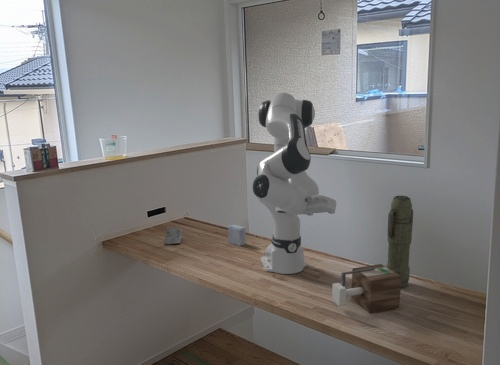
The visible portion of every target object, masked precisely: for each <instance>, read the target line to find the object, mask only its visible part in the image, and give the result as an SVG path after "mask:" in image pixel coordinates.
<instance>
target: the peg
mask: <svg viewBox="0 0 500 365" xmlns="http://www.w3.org/2000/svg"><path fill="white" fill-rule="evenodd" d="M372 270H375V269H374V268H370V269H364V270H357V271H351V270H350V271H345V272H341V273H340V276H341V278H340V282H334V283H332V286H331V288H332V290H331V291H332V292H331V293H332V294H331V295H332V296H331V300H332V301H333V302H334V303H335V304H336V305H337V306H340V307H341V306H345V305H347V304H346V300H347V298H346V297H351V296H353V295H359V294H363V291H364V288H363V287H358V288H352V287H351V288H346V287H345V286H346V275H350V274H352V273H359V272H365V271H372Z"/></svg>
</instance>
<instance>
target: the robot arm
mask: <svg viewBox="0 0 500 365" xmlns="http://www.w3.org/2000/svg"><path fill="white" fill-rule="evenodd" d="M315 110H316V109H315V106H314V104H313V103H312V101H310V100H307V99H295V96H293V95H292V94H290V93H288V92H280V93H277V94H275V95H274V97H273V98H272V99H271V100H270V99H269V100H265V101H262V102H261V103H260V104H259V106H258V109H257V119H258V121H259V124H260V126H262V127H264V128H266V130H267V132H268V134H270V135H271V136H272V137H273V138H274V140H273V141H274V142H273V143H274V144H273V146H274V147H273V148H274V149H273V153H271V154H269V155H267V156H266V157H264V158H263V159H262V160H260V161H259V162H258V164H257V167H256V168H257V169H256V176H255V178H254V179H253V182H252V191H253V194H254V195H255V197H256V198H257V199H258V201H259V202H260V203H261V204H262V205H264V206H265V207H266V208H267V209H268V211H269V213H270V215H271V218H272V225H273V234H272V238H271V243H270V244H269V245H268V246H266V248H265V251H264V252H263V256H260V261H261V264H262V266H263V268H264V270H265V272H271V273H272V272H273V273H275V274H276V273H278V274H282V275H292V274H297V273H300V272H302V271H303V270H304V269H305V268H307V266H308V264H307V262H306V261H305V253H304V252H305V251H304V247H303V246H301V245H302V236H301V219H300V217H299V216H298V215H305V216H306V215H307V216H310V217H311V216H314V214H319V213H323V214H324V213H328V214H330V215H333V214H336V210H337V200H335V199H334V198H331V197H330V196H325V195H319V193H320V190H319V188H320V187H319V186H318V184H317V182H316V181H315V180H314V179H313V178H311V177H310V176H309V175H308V173H307V172H306V171H307V170H308V169H309V167H310V164H311V160H312V159H311V153H310V150H309V147H308V143H307V142H308V141H307V137H306V128H309V127H310V126H312V124H313V122H314V120H315V117H316V111H315Z"/></svg>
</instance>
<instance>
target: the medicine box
mask: <svg viewBox="0 0 500 365" xmlns="http://www.w3.org/2000/svg"><path fill="white" fill-rule="evenodd" d="M227 235H228V236H227V239H228V244H231V245H234V246H237V247H241V246H244V245H246V244H247V242H246V241H247V240H246V227H244V226H240V225H236V224H231V225H228V227H227Z"/></svg>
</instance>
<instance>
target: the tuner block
mask: <svg viewBox="0 0 500 365" xmlns="http://www.w3.org/2000/svg"><path fill="white" fill-rule="evenodd" d="M370 268H374V269H375V270H372V271H365V272H359V273H352V275H351V276H352V277H351V288H358V287H363V288H364V291H363V294H359V295H353V296H350V298H351V300H352V301H353V303H355V304H356V305H357V306H359V307H361V309H363V310H364V311H365V312H367V313H368V314H370V315H372V314H377V313H382V312H386V311H387V312H388V311H393V310H398V309H399V310H400V305H401V304H400V303H401V290H402V289H401V276H400V275H399V274H397V273H395V272H394V271H392V270H390V269H389V268H387V267H386V266H385V265H383V264H381V263H380V264H373V265H367V266H358V267H353V268H352V271H357V270H364V269H370Z"/></svg>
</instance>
